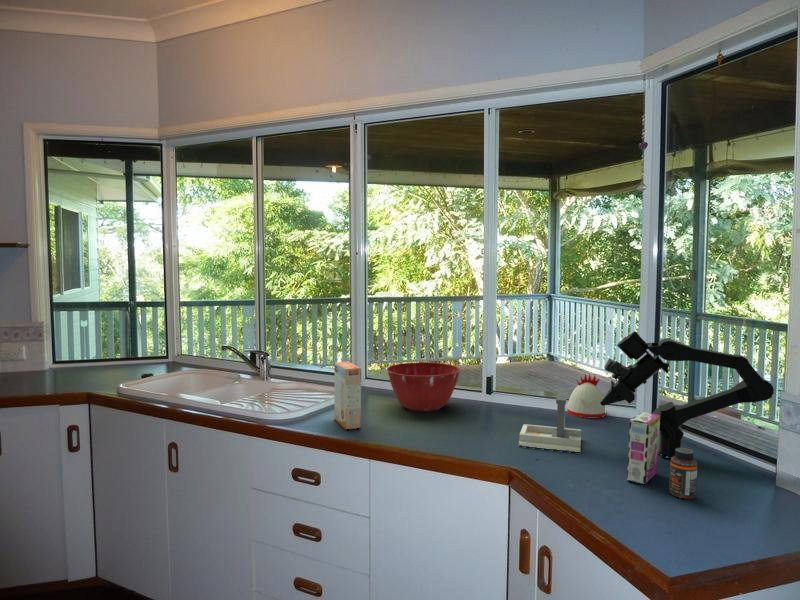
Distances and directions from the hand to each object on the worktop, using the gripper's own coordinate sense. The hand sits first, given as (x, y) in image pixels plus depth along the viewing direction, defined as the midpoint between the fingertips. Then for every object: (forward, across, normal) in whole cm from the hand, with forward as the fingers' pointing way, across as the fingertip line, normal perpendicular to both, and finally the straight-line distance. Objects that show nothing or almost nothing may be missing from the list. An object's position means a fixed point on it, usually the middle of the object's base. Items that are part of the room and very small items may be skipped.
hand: (601, 404), depth 171 cm
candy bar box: (+2, +21, +17) cm, 27 cm away
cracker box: (+68, +3, -49) cm, 84 cm away
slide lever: (+16, 0, 0) cm, 16 cm away
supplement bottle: (-3, +30, +23) cm, 38 cm away
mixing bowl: (+55, -27, -36) cm, 71 cm away
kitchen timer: (+13, -40, +7) cm, 42 cm away
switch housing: (+20, 0, -1) cm, 20 cm away
